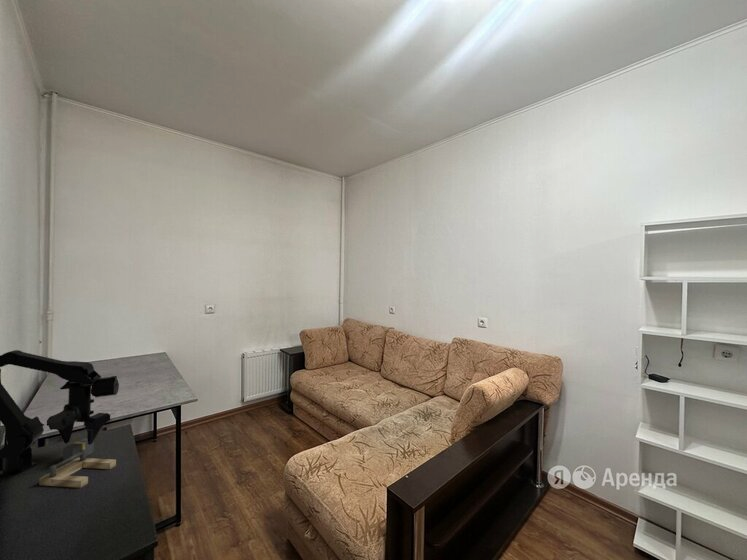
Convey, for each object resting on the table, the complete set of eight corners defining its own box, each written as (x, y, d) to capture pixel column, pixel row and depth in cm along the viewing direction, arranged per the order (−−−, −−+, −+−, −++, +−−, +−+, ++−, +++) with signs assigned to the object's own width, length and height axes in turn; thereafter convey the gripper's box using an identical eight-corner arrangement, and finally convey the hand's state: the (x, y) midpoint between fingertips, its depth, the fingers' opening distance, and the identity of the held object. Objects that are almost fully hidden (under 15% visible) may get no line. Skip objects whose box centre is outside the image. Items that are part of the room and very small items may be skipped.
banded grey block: (62, 462, 101) (63, 447, 102) (84, 451, 108) (84, 437, 108) (72, 463, 101) (72, 448, 101) (93, 452, 108) (94, 438, 108)
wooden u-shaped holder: (39, 485, 90) (39, 467, 90) (78, 463, 101) (78, 448, 101) (80, 487, 89) (81, 470, 89) (115, 465, 100) (116, 450, 100)
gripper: (28, 407, 98) (26, 455, 98) (79, 409, 96) (77, 457, 96) (65, 395, 109) (64, 437, 109) (112, 396, 107) (111, 440, 107)
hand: (78, 443), depth 105 cm, fingers open, 9 cm apart
